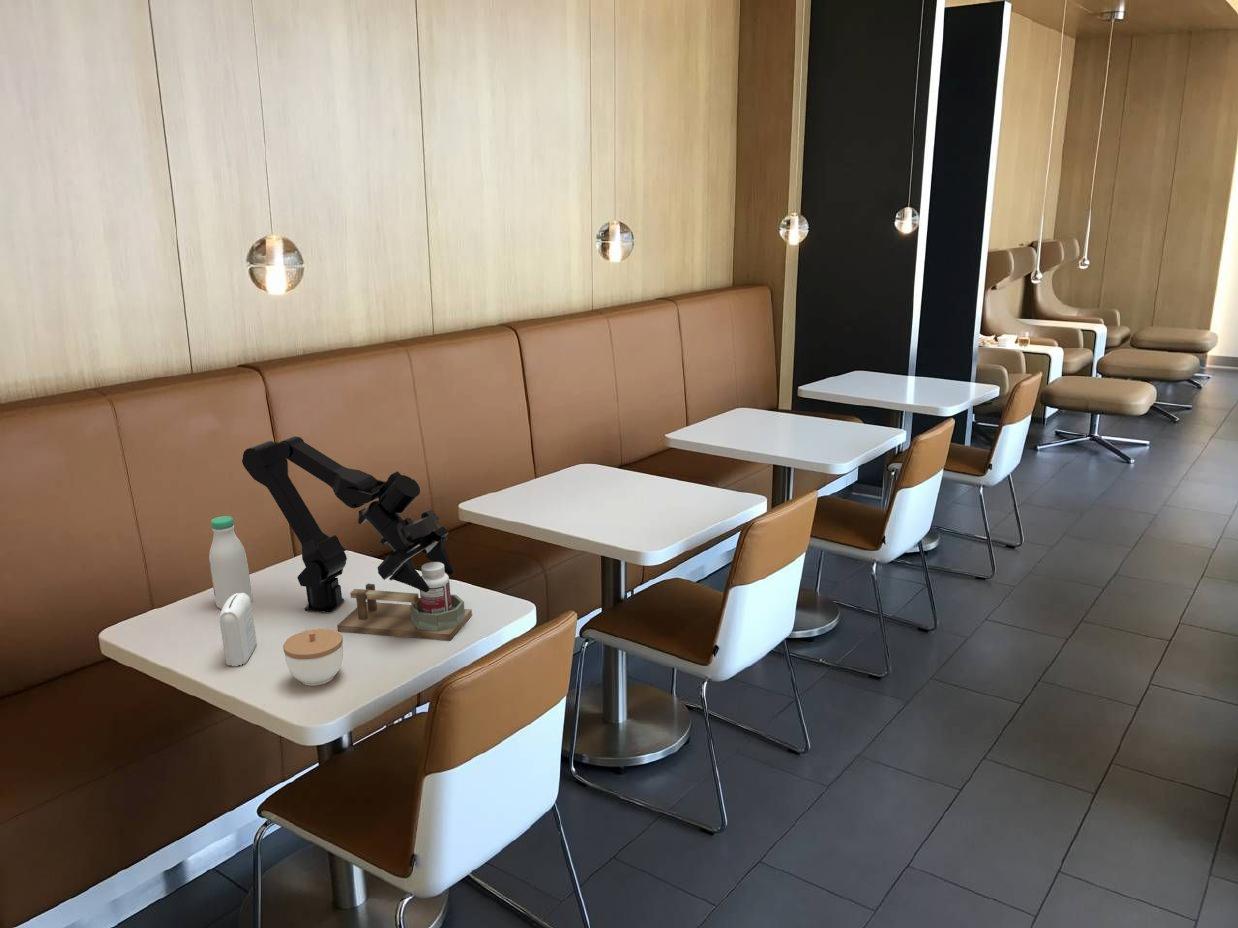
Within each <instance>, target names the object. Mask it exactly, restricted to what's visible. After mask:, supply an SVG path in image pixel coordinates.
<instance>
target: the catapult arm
mask: <svg viewBox="0 0 1238 928" xmlns="http://www.w3.org/2000/svg"><path fill="white" fill-rule="evenodd" d="M358 592H363V593H365V597H366V600H367V599H372V600H376V601H388V602H400V603H411V604H410V605H411V606H410V610H411V621H412V623H413V624H414V625H415V626H416V627H417V628H418V629H419V630H428V631H441V630H445V629H449V628H452V627H456V626H458V625H459V624H460V623H461V622H462V620H463V619H464V618H465V609H466V608H465V601H464V600H463V599H461V597H459V596H458V595H457V594H452V593H450V594H451V605H452V610H450V611H446V612H443V613H439V614H430V613H422V607H421V597H419V596H420V595H419V593H416V592H415V593H414V592H404V591H403V592H401V591H391V590H390V591H389V590H377V589H375V590H370V589H366V588H365V589H363V588H362V589H361V588H354V589H353V590H351V591H350V593H349V595H350V598H351V599H356V593H358Z"/></svg>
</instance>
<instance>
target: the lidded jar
mask: <svg viewBox="0 0 1238 928" xmlns="http://www.w3.org/2000/svg"><path fill="white" fill-rule="evenodd" d="M343 642H344V639H343V635H342V634H341V632H339V631H338V630H334V629H330V628H314V629H308V630H304V631H300V632H298V633H295V634H293V635H292V636H290V637H288V638H287V639H285V641H284V643H283V645H282V646H283V647H282V649H283V652H284V658H285V662H286V665H287V668H288V670H289V673H290V674H291V675H292V677H294V679H296V680H297V681H298V682H300V683H301V682H302V683H303V684H302V683H301V684H302V685H304V684H305V686H307V685H308V687H315V686H316V687H317V686H322V685H324V684H327V683H329V682H331V681H332V680H333V679H334V678H335V676H336V674H338V672H339V670H340V669H341V667H342V665H343V661H344V645H343Z"/></svg>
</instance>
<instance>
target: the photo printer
mask: <svg viewBox="0 0 1238 928" xmlns="http://www.w3.org/2000/svg"><path fill="white" fill-rule="evenodd" d="M252 608H253V607H252V602H251V600H250V598H249V596H248V595H247V594H245V593H236V594H234V595H232V596H231V597H230V598H229V599H228V600H227V601H226V603H225V604H224V606H223V608H222V609H220V610H221V611H220V614H219V625H220V633H221V641H222V647H223V652H224V653H223V654H224V659H225V663H226V665H228V666H229V665H232V666H231V667H238V666H237V665H240V666H243V665H244V664H246V663H247V662H248V660H249V659H250V658H251V656H252V654H253V652H254V651H255V648H256V647H257V635H256V627H255V622H254V616H253V615H254V614H253V609H252ZM242 664H243V665H242Z"/></svg>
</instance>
